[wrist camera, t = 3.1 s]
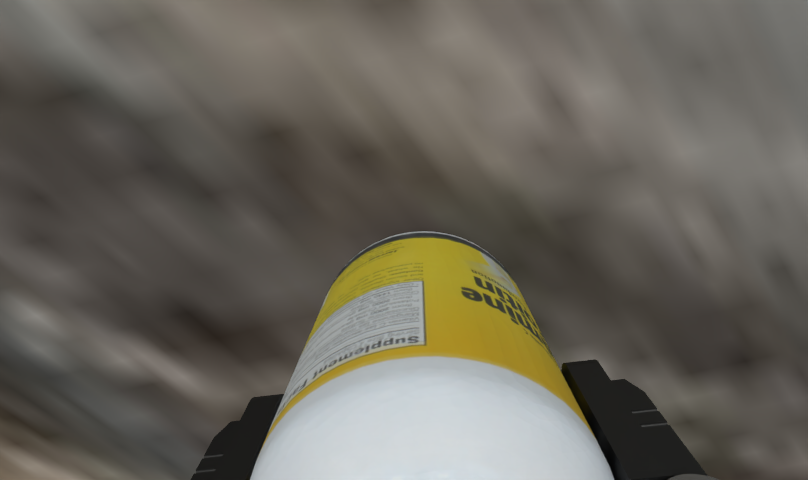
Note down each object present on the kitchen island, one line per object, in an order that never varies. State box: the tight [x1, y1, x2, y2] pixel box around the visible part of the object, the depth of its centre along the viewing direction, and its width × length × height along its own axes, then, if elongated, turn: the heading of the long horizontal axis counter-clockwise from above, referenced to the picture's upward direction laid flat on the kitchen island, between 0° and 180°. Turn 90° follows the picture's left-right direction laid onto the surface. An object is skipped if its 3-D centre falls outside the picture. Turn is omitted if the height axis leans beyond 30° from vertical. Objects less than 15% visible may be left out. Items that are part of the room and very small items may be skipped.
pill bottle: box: [250, 231, 615, 480], centre depth 11 cm, size 6×6×12 cm
